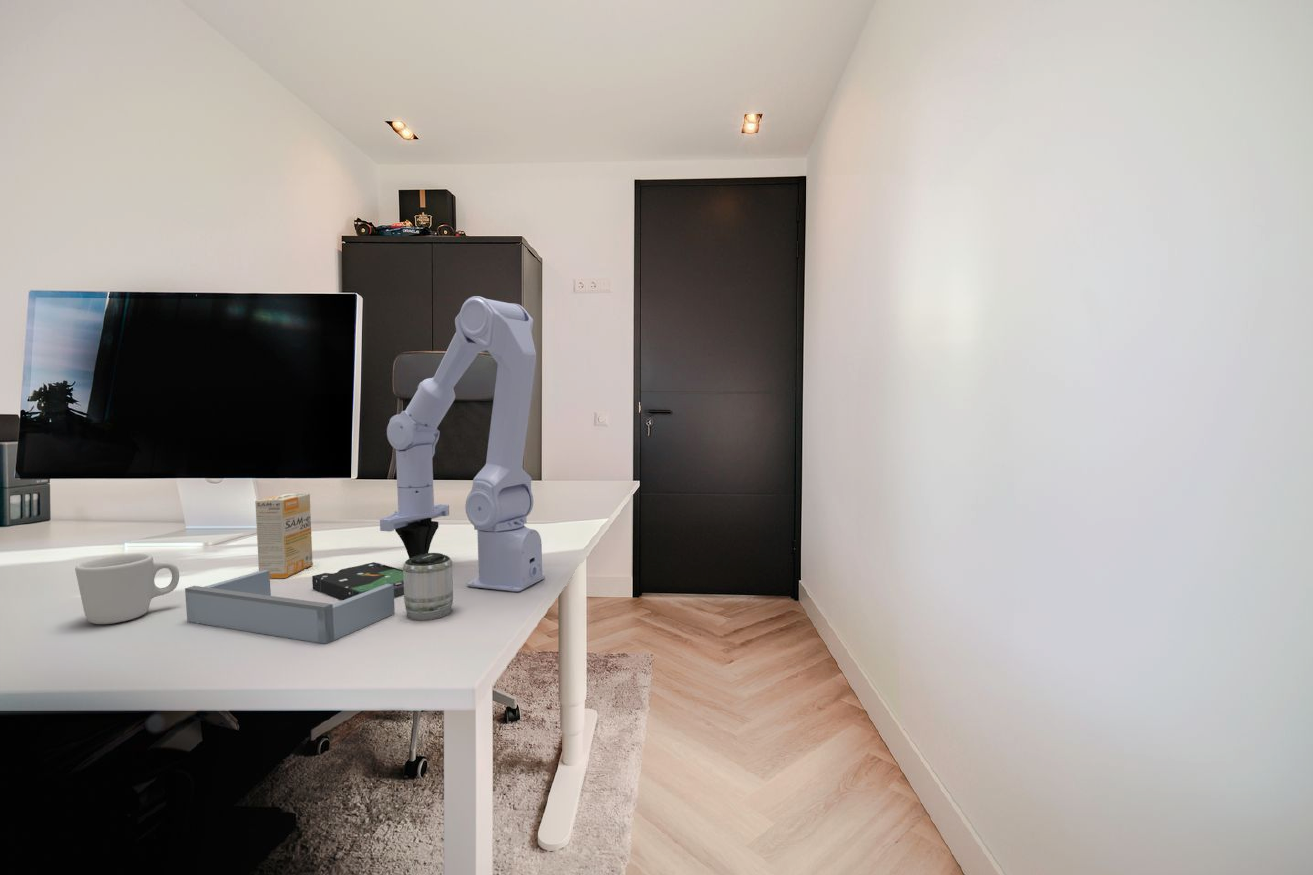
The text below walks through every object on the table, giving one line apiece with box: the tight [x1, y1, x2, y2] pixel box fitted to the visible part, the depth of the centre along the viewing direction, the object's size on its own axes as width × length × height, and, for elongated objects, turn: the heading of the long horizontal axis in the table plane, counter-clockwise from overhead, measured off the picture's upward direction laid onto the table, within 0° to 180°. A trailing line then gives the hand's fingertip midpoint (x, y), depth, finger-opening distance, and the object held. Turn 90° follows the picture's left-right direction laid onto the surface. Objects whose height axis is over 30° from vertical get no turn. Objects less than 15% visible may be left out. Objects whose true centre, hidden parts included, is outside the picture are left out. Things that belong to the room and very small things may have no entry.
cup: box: [74, 553, 180, 625], centre depth 87 cm, size 11×8×8 cm
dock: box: [184, 570, 396, 645], centre depth 85 cm, size 24×11×4 cm, turn 70°
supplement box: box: [254, 492, 313, 579], centre depth 108 cm, size 8×5×13 cm, turn 179°
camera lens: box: [402, 552, 454, 621], centre depth 86 cm, size 6×6×8 cm
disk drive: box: [311, 562, 404, 601], centre depth 97 cm, size 10×3×15 cm
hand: (418, 564), depth 108 cm, fingers closed
